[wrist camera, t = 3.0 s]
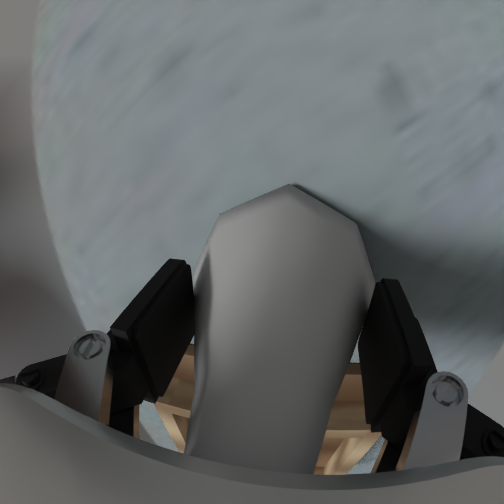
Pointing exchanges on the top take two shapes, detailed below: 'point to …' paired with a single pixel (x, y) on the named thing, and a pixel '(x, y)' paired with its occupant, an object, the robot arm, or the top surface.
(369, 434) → the shaker holder
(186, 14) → the top surface
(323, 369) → the flask
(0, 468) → the robot arm
